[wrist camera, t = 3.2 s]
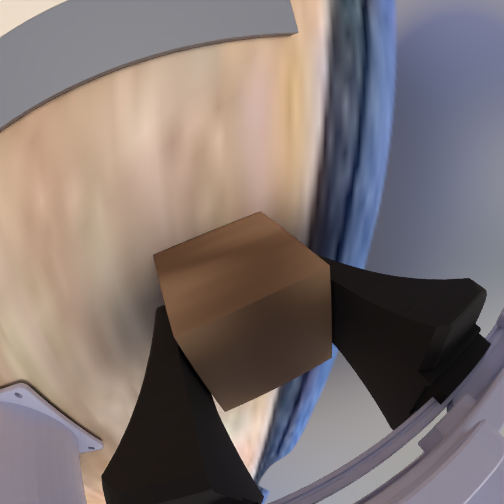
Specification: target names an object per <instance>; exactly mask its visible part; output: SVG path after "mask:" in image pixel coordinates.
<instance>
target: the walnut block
mask: <svg viewBox="0 0 504 504" xmlns="http://www.w3.org/2000/svg"><path fill="white" fill-rule="evenodd" d="M153 256H154V260H155V265H156V270H157V274H158V278H159V282H160V287H161V291H162V295H163V299H164V303H165V307H166V310H167V314H168V318H169V321H170V325H171V329H172V332H173V336H174V338H175V340H176V341H177V343H178V345H179V346H180V348H181V349H182V351H183V352H184V354H185V356H186V357H187V359H188V360H189V362H190V363H191V365H192V366H193V368H194V369H195V371H196V372H197V374H198V375H199V377H200V378H201V379H202V381H203V382H204V384H205V385H206V387H207V388H208V389H209V391H210V392H211V394H212V395H213V396H214V398H215V399H216V401H217V402H218V403H219V405H220V406H221V407H222V409H223V410H224V411H225V412H226V411H228V410H230V409H233V408H235V407H237V406H239V405H242V404H244V403H246V402H248V401H250V400H253V399H255V398H257V397H259V396H261V395H263V394H265V393H267V392H269V391H271V390H273V389H275V388H277V387H279V386H281V385H283V384H285V383H287V382H289V381H291V380H293V379H295V378H296V377H298V376H300V375H302V374H304V373H306V372H307V371H309V370H311V369H313V368H314V367H316V366H318V365H320V364H321V363H323V362H325V361H327V360H328V359H330V358H332V313H331V282H330V265H328V264H327V263H326V262H325V261H323V260H322V259H321V258H320V257H318V256H317V255H316V254H315V253H313V252H312V251H311V250H310V249H308V248H307V247H306V246H305V245H303V244H302V243H301V242H300V241H298V240H297V239H296V238H294V237H293V236H292V235H291V234H289V233H288V232H287V231H285V230H284V229H283V228H282V227H280V226H279V225H278V224H276V223H275V222H274V221H272V220H271V219H270V218H268V217H267V216H266V215H265V214H263V213H262V212H258V213H256V214H253V215H250V216H248V217H245V218H243V219H240V220H238V221H235V222H233V223H230V224H228V225H225V226H222V227H220V228H217V229H215V230H212V231H210V232H208V233H205V234H203V235H200V236H198V237H195V238H193V239H190V240H188V241H186V242H183V243H181V244H178V245H176V246H173V247H171V248H169V249H166V250H164V251H162V252H159V253H157V254H155V255H153Z"/></svg>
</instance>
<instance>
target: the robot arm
mask: <svg viewBox="0 0 504 504" xmlns="http://www.w3.org/2000/svg"><path fill="white" fill-rule="evenodd" d="M317 256H318V257H320V258H321V259H322V260H323V261H325V262H326V263H327V264H328V265H330V282H331V313H332V343H333V344H334V345H335V346H336V347H337V348H338V350H339V351H340V352H341V353H342V354H343V356H344V357H345V358H346V360H347V361H348V362H349V364H350V365H351V366H352V368H353V369H354V370H355V372H356V373H357V375H358V376H359V378H360V379H361V380H362V382H363V383H364V385H365V386H366V388H367V389H368V391H369V392H370V394H371V395H372V397H373V398H374V400H375V401H376V403H377V405H378V406H379V408H380V410H381V411H382V413H383V415H384V416H385V418H386V420H387V422H388V423H389V425H390V427H391V428H392V429H393V430H394V431H392V432H391V433H390V434H389V435H387V436H386V437H385V438H383V439H382V440H381V441H379V442H378V443H377V444H375V445H374V446H372V447H371V448H369V449H368V450H367V451H365V452H364V453H362V454H361V455H359V456H358V457H356V458H355V459H353V460H352V461H350V462H349V463H347V464H345V465H344V466H342V467H340V468H339V469H337V470H335V471H333V472H332V473H330V474H328V475H327V476H325V477H323V478H321V479H319V480H317V481H316V482H314V483H312V484H310V485H308V486H306V487H304V488H302V489H300V490H298V491H296V492H294V493H292V494H289V495H287V496H285V497H283V498H281V499H278V500H276V501H273V502H271V503H269V504H315V503H318V502H319V501H321V500H323V499H325V498H327V497H329V496H331V495H332V494H334V493H336V492H338V491H339V490H341V489H343V488H345V487H346V486H348V485H349V484H351V483H353V482H354V481H356V480H357V479H359V478H361V477H362V476H363V475H365V474H367V473H368V472H370V471H371V470H372V469H374V468H375V467H377V466H378V465H380V464H381V463H382V462H384V461H385V460H386V459H388V458H389V457H390V456H392V455H393V454H394V453H396V452H397V451H398V450H399V449H401V448H402V447H403V446H404V445H406V443H408V442H409V441H410V440H411V439H413V438H414V437H415V436H416V435H417V434H418V433H420V432H421V431H422V430H423V429H424V428H425V427H426V426H427V425H428V424H429V423H431V421H433V420H434V419H435V418H436V417H437V416H438V415H439V414H440V413H441V412H442V411H443V410H444V409H445V407H447V414H446V415H445V416H444V417H443V418H442V419H441V420H440V421H439V422H438V423H437V424H436V425H435V426H434V427H433V428H432V430H431V431H430V432H429V433H428V434H427V435H426V436H425V437H424V438H422V439H421V440H420V441H419V443H418V445H419V446H420V447H421V448H422V449H423V451H424V452H423V453H422V454H421V455H420V456H419V457H418V458H417V459H415V460H414V461H413V462H412V463H411V464H409V465H408V466H407V467H405V469H403V470H402V471H400V472H399V473H398V474H396V475H395V476H394V477H392V478H391V479H390V480H388V481H387V482H386V483H384V484H383V485H381V486H380V487H379V488H377V489H375V490H374V491H373V492H371V493H370V494H368V495H366V496H365V497H363V498H362V499H360V500H359V501H357V502H355V503H354V504H504V437H503V436H502V435H501V434H500V431H501V430H502V428H503V426H504V308H503V310H502V312H501V314H500V316H499V317H498V320H497V322H496V324H495V326H494V327H493V329H492V330H491V331H490V333H489V334H488V335H487V337H486V338H484V337H482V336H481V335H480V334H479V332H480V330H481V329H480V327H479V326H477V325H476V324H475V323H476V321H477V319H478V317H479V315H480V312H481V310H482V308H483V305H484V303H485V300H486V296H487V294H486V290H485V289H484V288H483V287H481V286H480V285H478V284H477V283H475V282H474V281H473V280H471V279H469V278H464V279H447V280H438V279H436V280H435V279H415V278H406V277H398V276H391V275H386V274H380V273H376V272H371V271H367V270H363V269H360V268H356V267H352V266H349V265H346V264H343V263H340V262H336V261H333V260H330V259H328V258H325V257H322V256H319V255H317ZM102 448H103V442H102V441H100V440H99V439H97V438H96V437H94V436H92V435H91V434H89V433H88V432H86V431H85V430H84V429H82V428H81V427H79V426H78V425H76V424H75V423H74V422H72V421H71V420H70V419H68V418H67V417H66V416H64V415H63V414H62V413H60V412H59V411H58V410H56V409H55V408H54V407H53V406H52V405H50V404H49V403H48V402H47V401H45V400H44V399H43V398H42V397H41V396H40V395H38V394H37V393H36V392H35V391H34V390H33V389H32V388H31V387H29V386H28V385H27V384H24V383H18V384H15V385H12V386H9V387H6V388H3V389H0V504H87V502H86V497H85V491H84V486H83V479H82V473H81V465H80V457H79V453H85V452H90V451H94V450H99V449H102ZM101 477H102V486H103V491H104V496H105V500H106V504H261V503H262V500H263V498H264V496H263V495H262V493H261V491H260V490H259V488H258V487H257V485H256V483H255V482H254V480H253V479H252V477H251V475H250V474H249V472H248V470H247V468H246V467H245V465H244V463H243V461H242V460H241V458H240V456H239V454H238V452H237V450H236V448H235V447H234V445H233V443H232V441H231V439H230V437H229V435H228V433H227V431H226V429H225V427H224V425H223V423H222V421H221V418H220V416H219V414H218V411H217V409H216V406H215V404H214V401H213V398H212V394H211V392H210V391H209V389H208V388H207V387H206V385H205V384H204V382H203V381H202V379H201V378H200V377H199V375H198V374H197V372H196V371H195V369H194V368H193V366H192V365H191V363H190V362H189V360H188V359H187V357H186V356H185V354H184V352H183V351H182V349H181V348H180V346H179V345H178V343H177V341H176V340H175V338H174V336H173V332H172V329H171V325H170V321H169V318H168V314H167V310H166V307H165V305H163V306H161V307H158V308H157V310H156V316H155V325H154V332H153V338H152V344H151V350H150V355H149V360H148V364H147V368H146V373H145V377H144V380H143V384H142V388H141V391H140V394H139V397H138V400H137V403H136V406H135V409H134V411H133V414H132V417H131V419H130V422H129V424H128V426H127V429H126V431H125V433H124V435H123V437H122V439H121V442H120V444H119V446H118V448H117V450H116V452H115V454H114V455H113V457H112V459H111V461H110V462H109V464H108V466H107V468H106V469H105V471H104V473H103V474H102V476H101Z"/></svg>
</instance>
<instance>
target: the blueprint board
mask: <svg viewBox="0 0 504 504" xmlns="http://www.w3.org/2000/svg"><path fill="white" fill-rule="evenodd" d="M296 33H298V29H297V25H296V21H295V17H294V13H293V10H292V6H291V2H290V0H0V131H2V130H3V129H5V128H6V127H8V126H9V125H11V124H12V123H14V122H15V121H17V120H18V119H20V118H21V117H23V116H25V115H26V114H28V113H29V112H31V111H33V110H34V109H36V108H38V107H40V106H41V105H43V104H45V103H47V102H48V101H50V100H52V99H54V98H56V97H58V96H60V95H62V94H64V93H66V92H68V91H70V90H72V89H74V88H76V87H78V86H80V85H83V84H85V83H87V82H89V81H92V80H94V79H96V78H99V77H101V76H103V75H106V74H108V73H111V72H114V71H116V70H119V69H122V68H125V67H127V66H130V65H133V64H136V63H139V62H142V61H146V60H149V59H152V58H155V57H159V56H163V55H166V54H170V53H174V52H178V51H182V50H186V49H191V48H195V47H200V46H205V45H210V44H216V43H222V42H228V41H235V40H243V39H251V38H261V37H274V36H290V35H293V34H296Z"/></svg>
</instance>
